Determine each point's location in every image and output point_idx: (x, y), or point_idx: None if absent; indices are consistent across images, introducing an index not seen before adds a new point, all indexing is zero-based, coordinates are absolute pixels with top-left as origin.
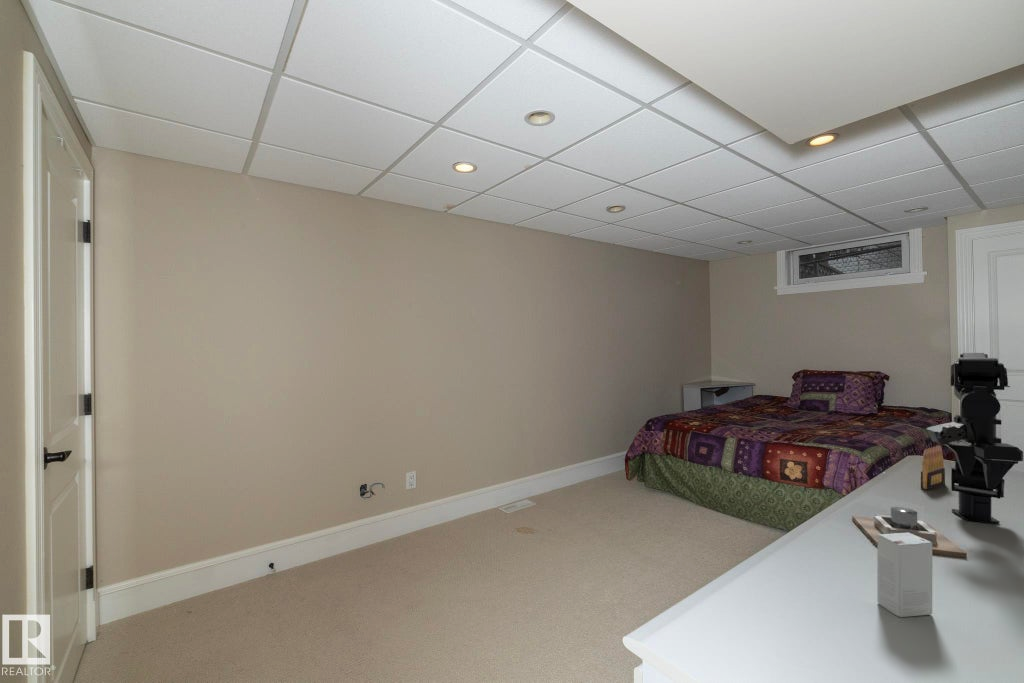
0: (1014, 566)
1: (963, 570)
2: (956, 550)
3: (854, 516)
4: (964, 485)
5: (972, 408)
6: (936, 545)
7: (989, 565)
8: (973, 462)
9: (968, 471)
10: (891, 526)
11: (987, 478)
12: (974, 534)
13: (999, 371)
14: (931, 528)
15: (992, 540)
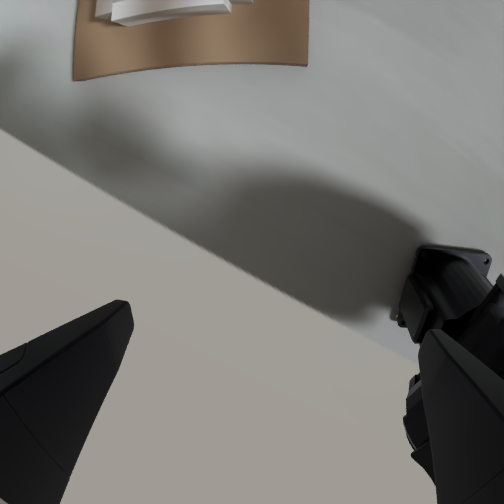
0: (75, 173)
1: (26, 58)
2: (82, 61)
3: None
4: (475, 321)
5: None
6: (102, 21)
7: (61, 118)
8: (437, 456)
9: (427, 376)
10: None
11: (58, 328)
12: (291, 195)
13: None
14: (257, 50)
15: (249, 221)
